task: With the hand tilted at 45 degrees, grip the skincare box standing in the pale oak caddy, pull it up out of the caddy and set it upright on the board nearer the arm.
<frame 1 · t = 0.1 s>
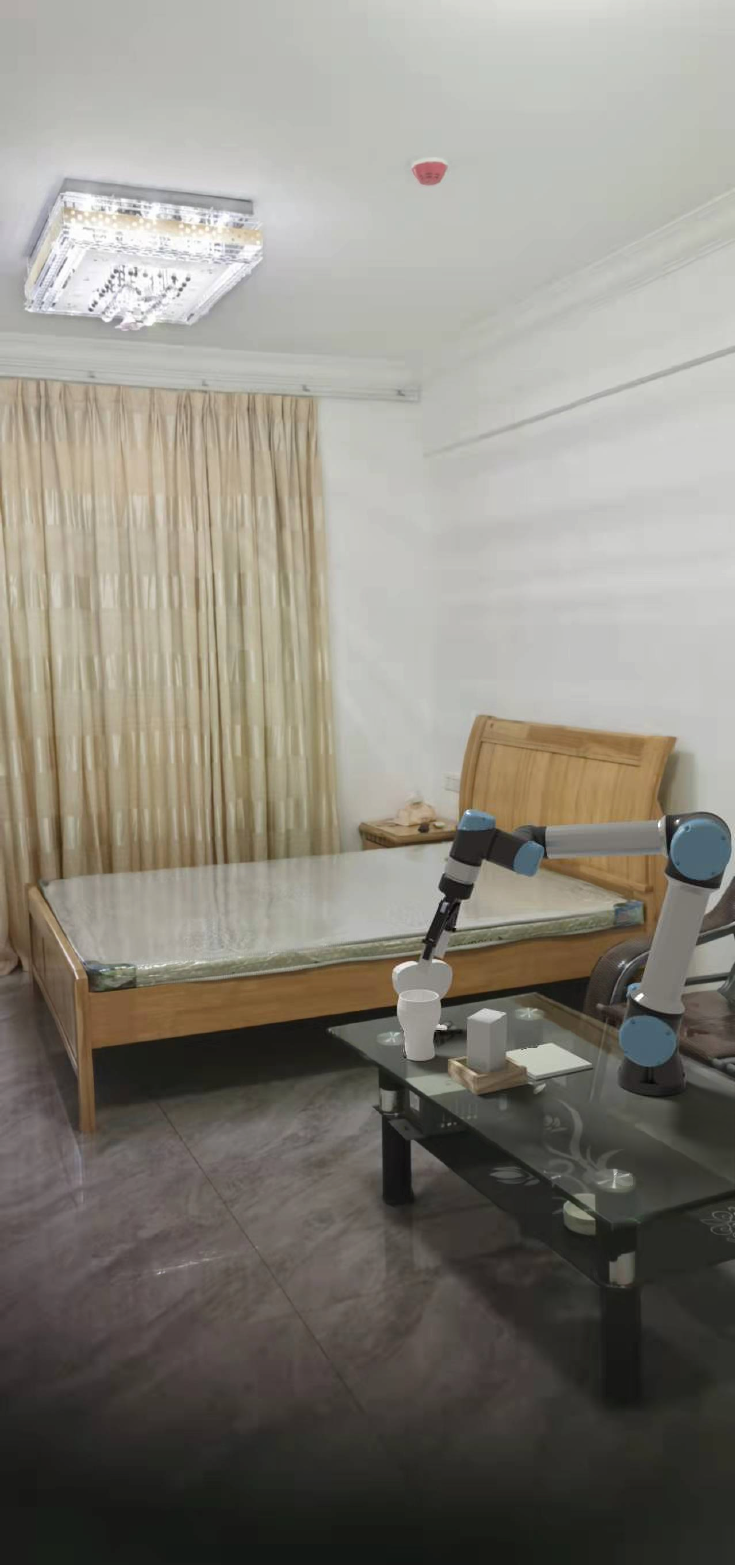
hand: (429, 963, 264), 28 cm above the table, tool tilted 20°, fingers open, 13 cm apart
caddy: (486, 1080, 268), on the table
skincare box: (486, 1081, 269), resting in caddy
heart sculpture: (422, 1030, 303), on the table
cup: (419, 1056, 284), on the table
board: (543, 1062, 279), on the table
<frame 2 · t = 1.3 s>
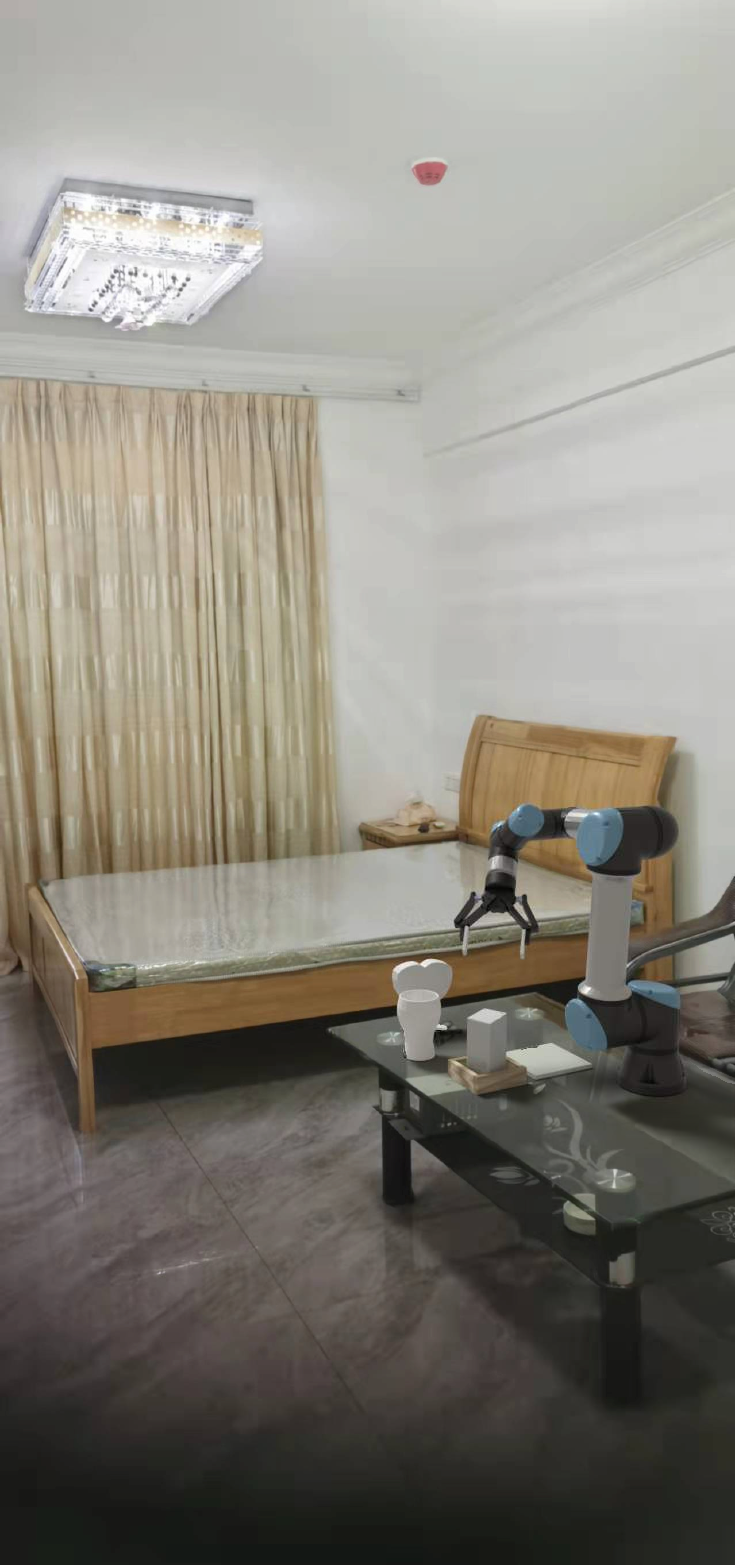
hand: (492, 954, 276), 27 cm above the table, tool tilted 45°, fingers open, 13 cm apart
nothing on the table moved.
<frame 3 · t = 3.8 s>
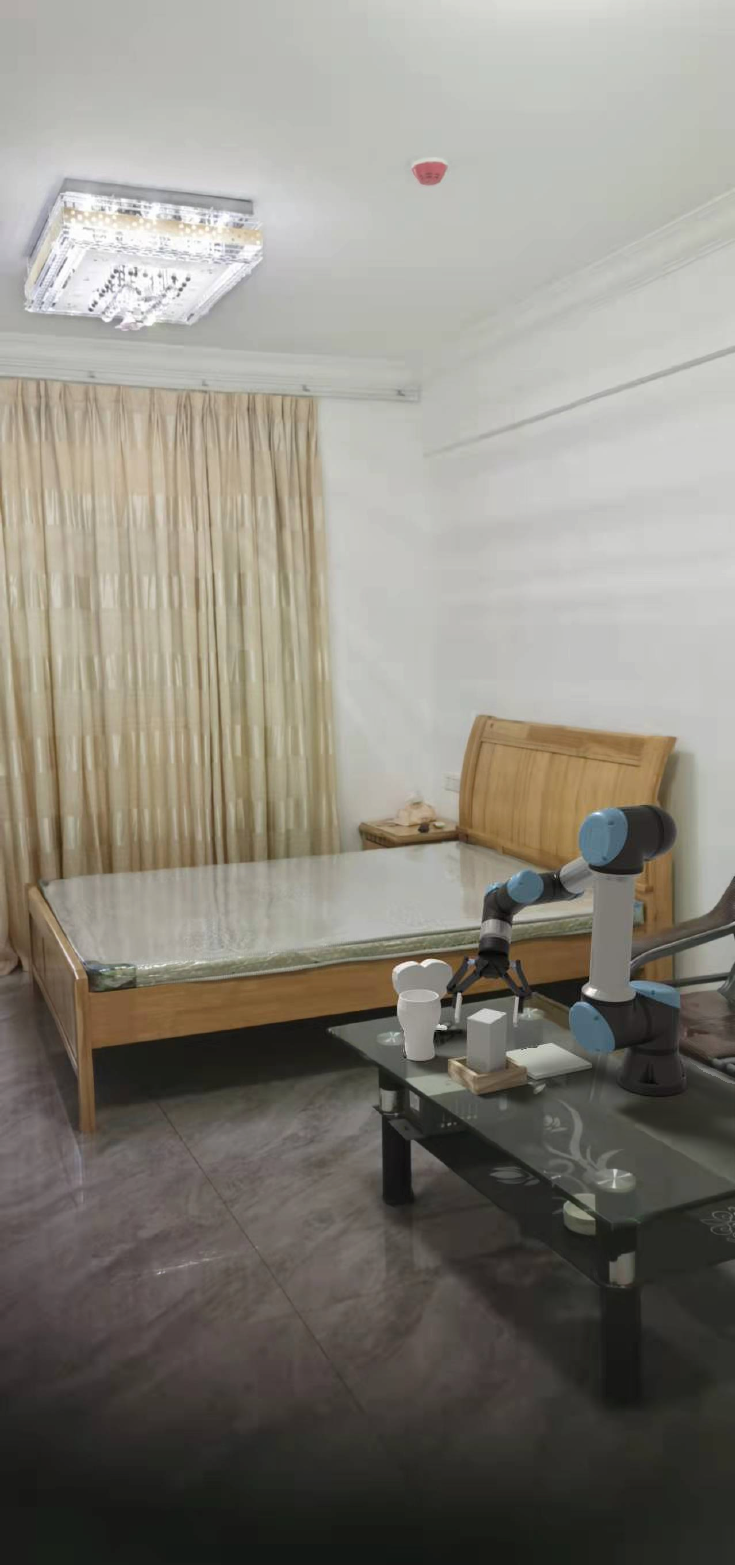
hand: (485, 1022, 271), 12 cm above the table, tool tilted 45°, fingers open, 13 cm apart
nothing on the table moved.
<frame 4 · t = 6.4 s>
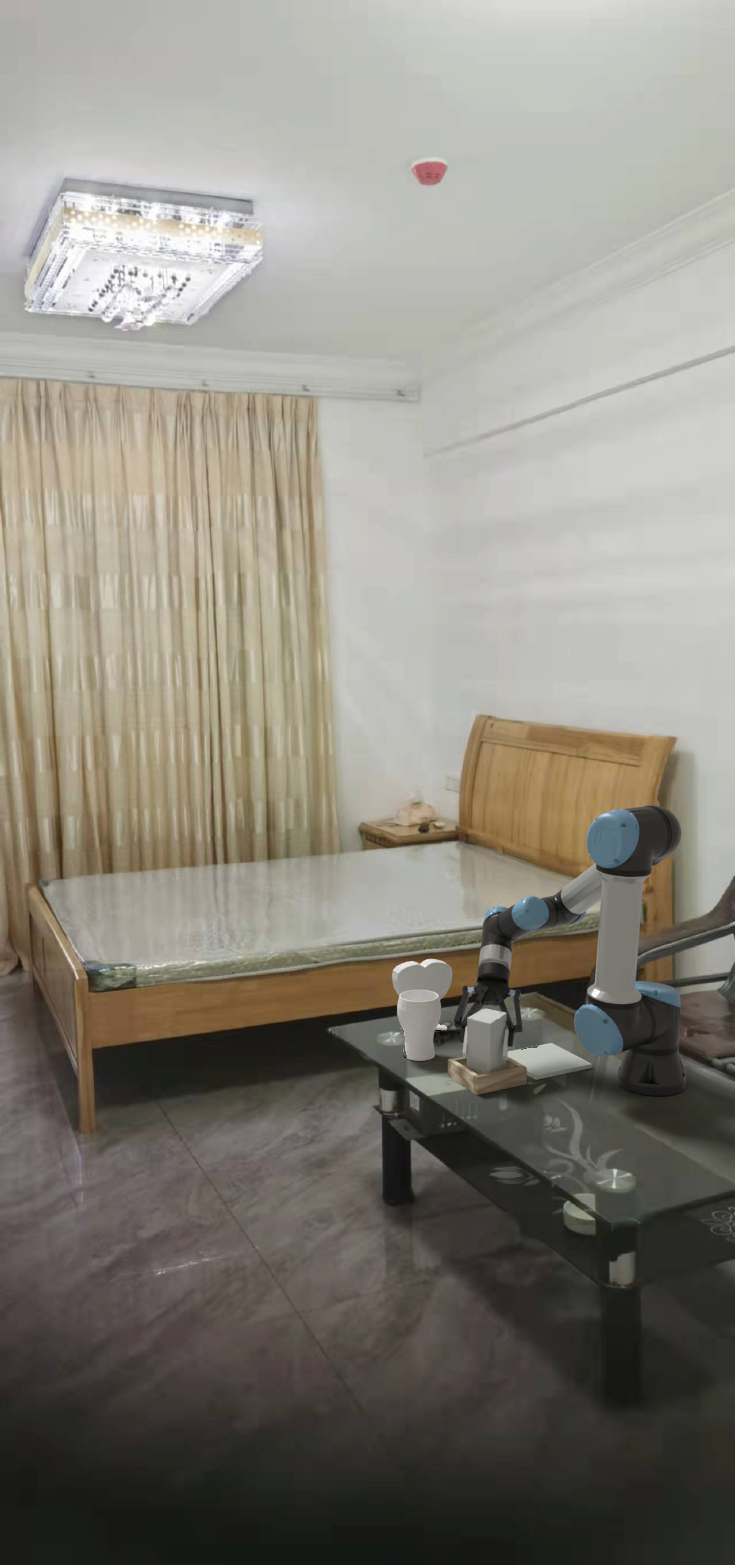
hand: (484, 1056, 264), 7 cm above the table, tool tilted 45°, fingers closed on skincare box, 8 cm apart
skincare box: (486, 1080, 269), resting in caddy, touching gripper
everything else where it was.
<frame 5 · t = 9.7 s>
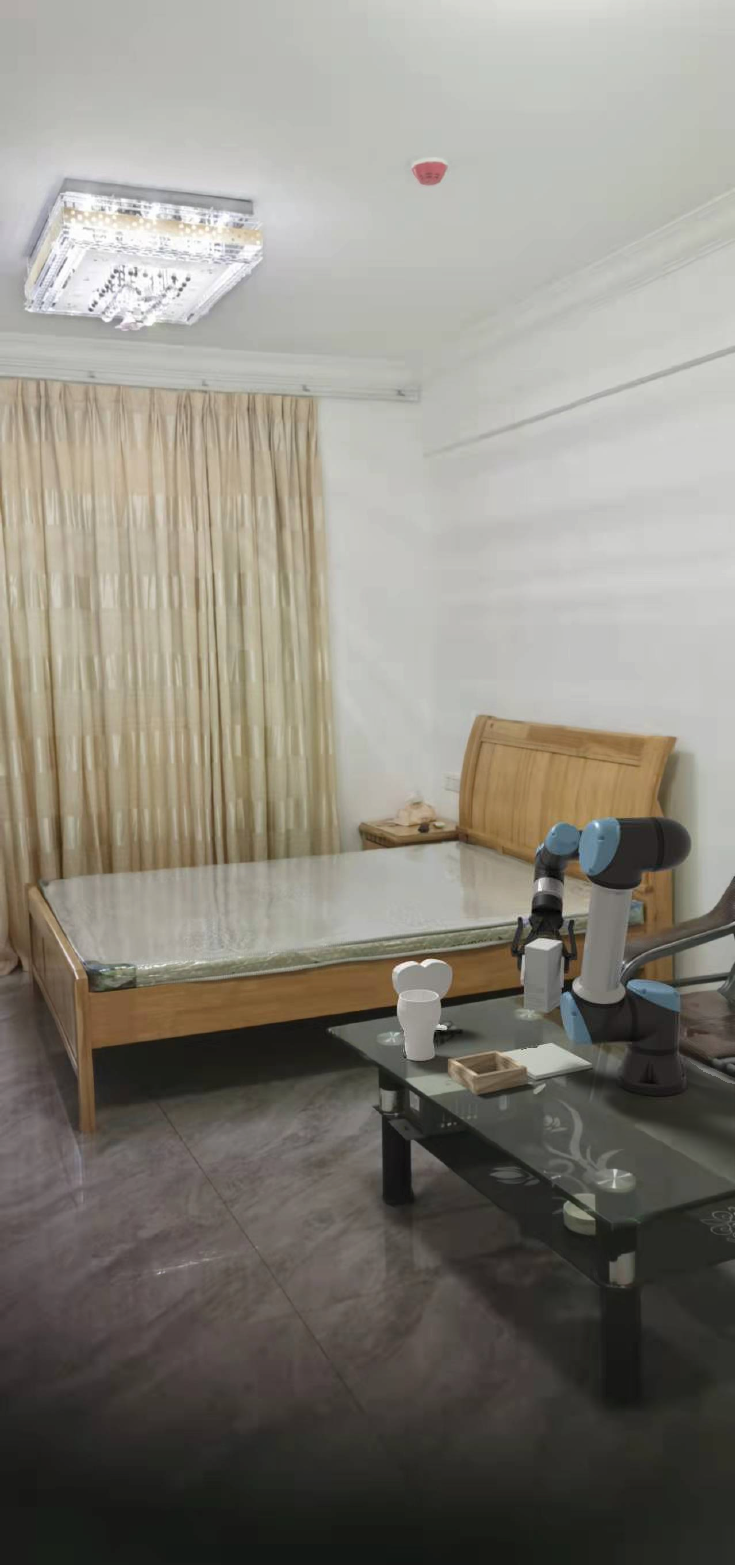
hand: (541, 983, 273), 21 cm above the table, tool tilted 45°, fingers closed on skincare box, 8 cm apart
skincare box: (543, 1007, 277), point 14 cm above the table, touching gripper
everything else where it was.
when the fingers open (9 cm above the table, at t = 13.4 s): skincare box stays where it is, resting on board.
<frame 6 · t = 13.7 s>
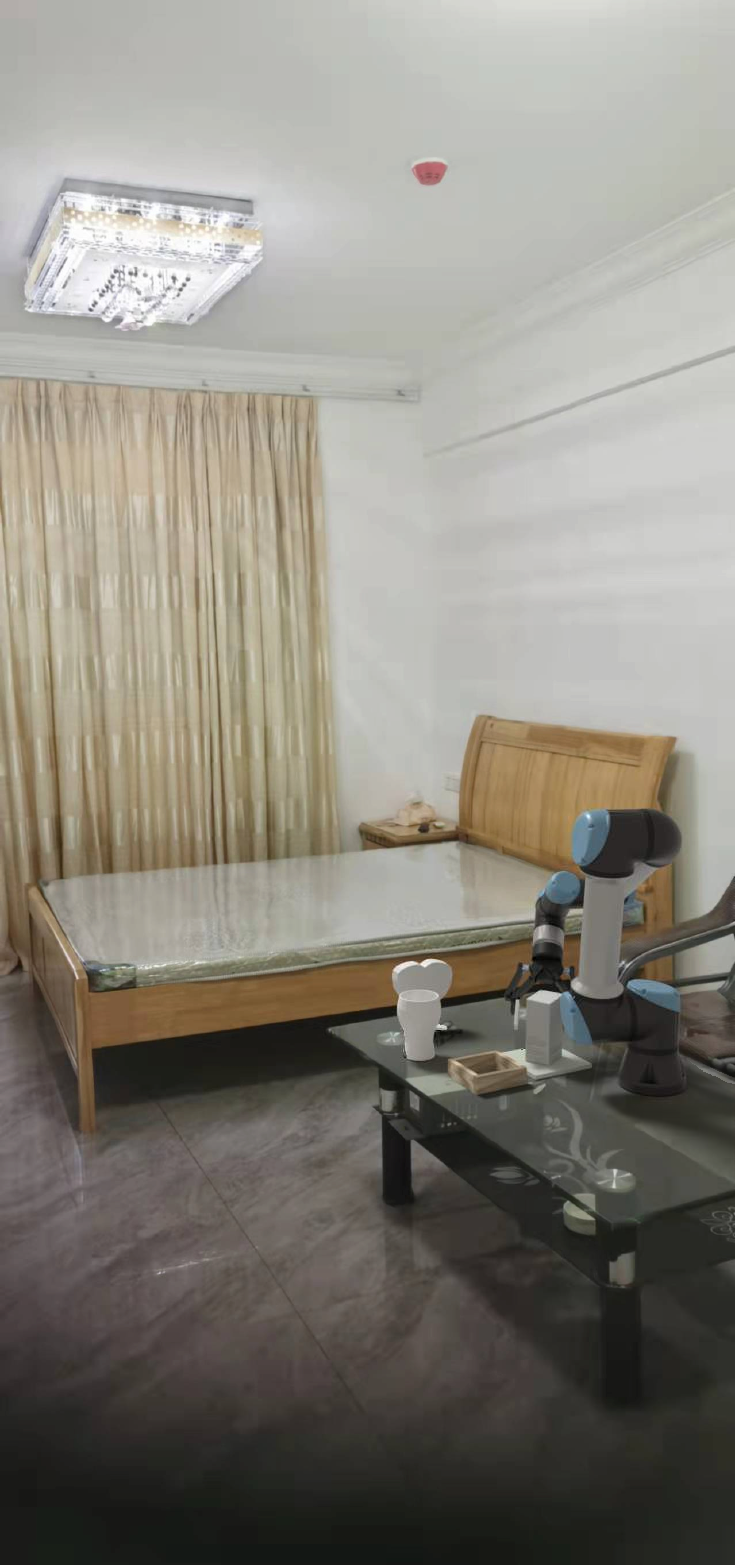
hand: (541, 1029, 275), 9 cm above the table, tool tilted 45°, fingers open, 11 cm apart
skincare box: (544, 1059, 279), point 1 cm above the table, touching board
everything else where it was.
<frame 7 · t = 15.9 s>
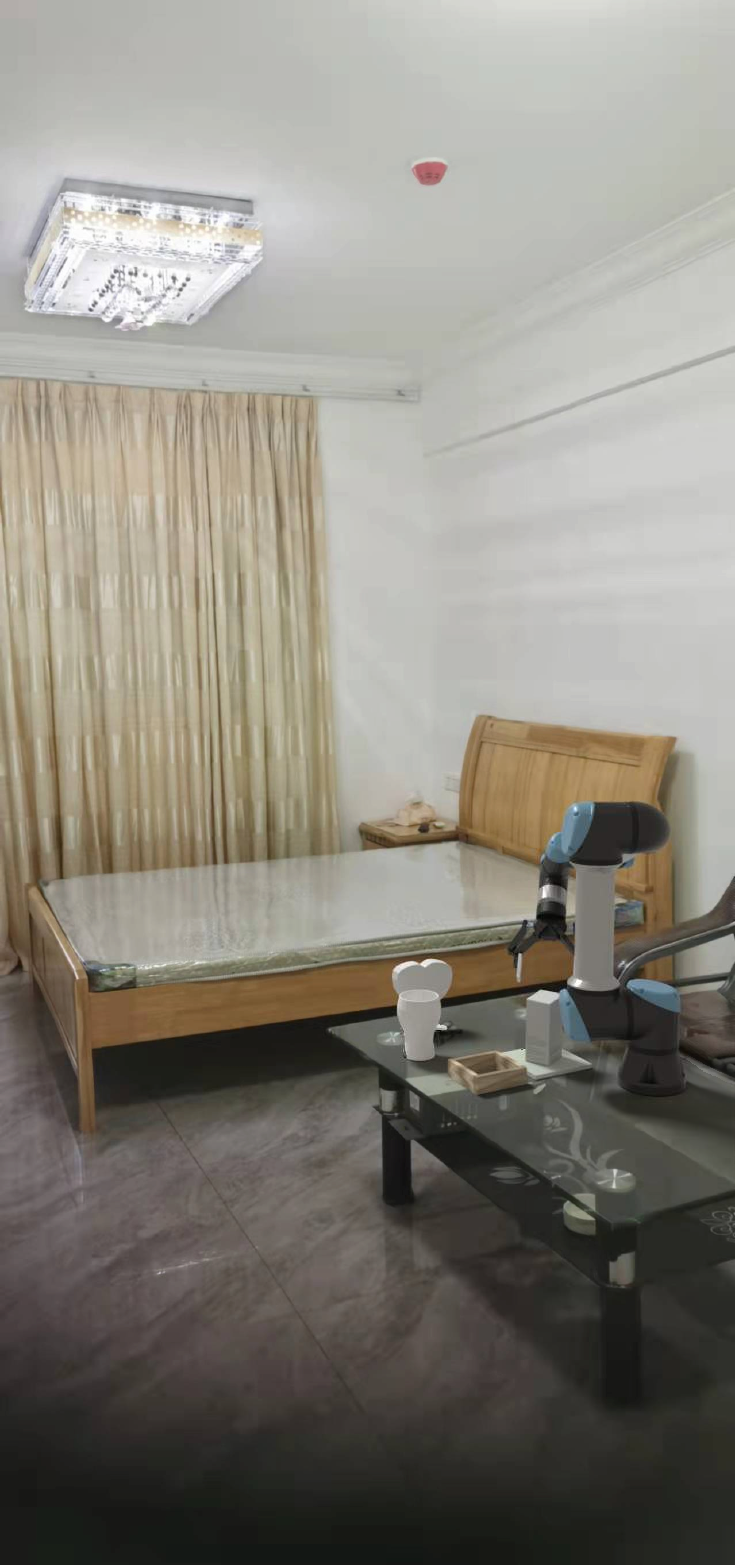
hand: (546, 981, 286), 17 cm above the table, tool tilted 45°, fingers open, 13 cm apart
nothing on the table moved.
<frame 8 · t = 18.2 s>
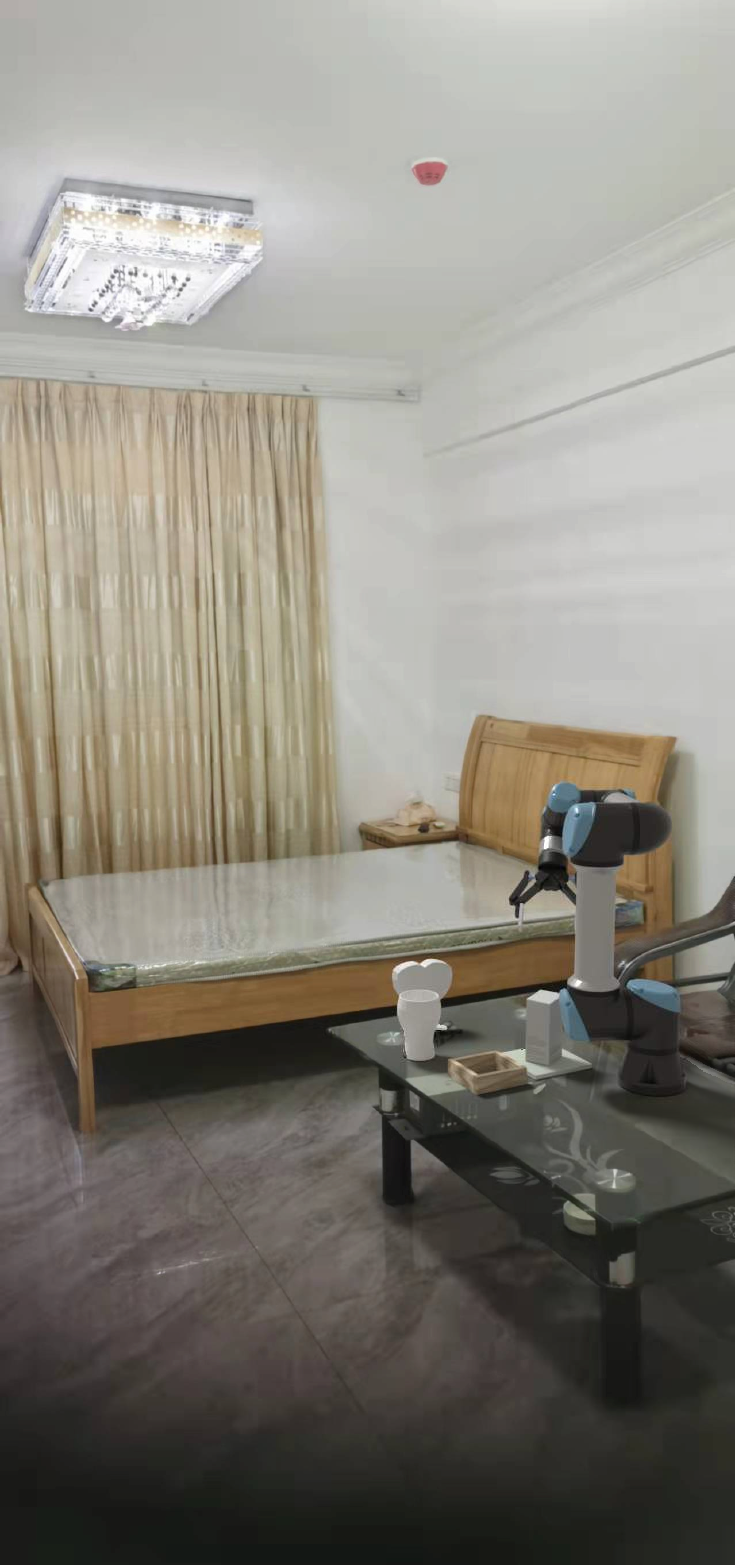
hand: (547, 930, 286), 30 cm above the table, tool tilted 45°, fingers open, 13 cm apart
nothing on the table moved.
at the end: skincare box inside the target area on the board (0.2 cm from its centre), point 0.8 cm above the board's base; skincare box tilted 0°; the gripper is holding nothing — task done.
